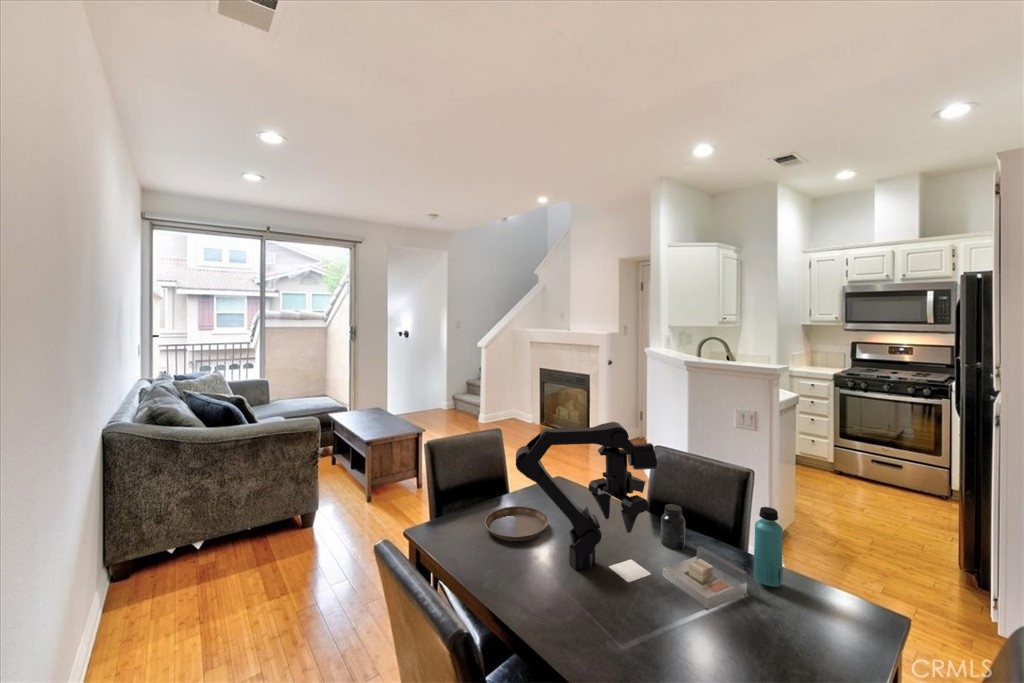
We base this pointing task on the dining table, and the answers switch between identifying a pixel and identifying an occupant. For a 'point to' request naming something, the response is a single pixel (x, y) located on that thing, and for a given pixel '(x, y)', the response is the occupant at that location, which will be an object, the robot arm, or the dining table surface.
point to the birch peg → (701, 572)
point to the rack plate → (722, 589)
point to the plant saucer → (520, 522)
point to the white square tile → (629, 570)
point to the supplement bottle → (673, 528)
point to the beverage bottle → (768, 548)
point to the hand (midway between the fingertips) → (617, 525)
